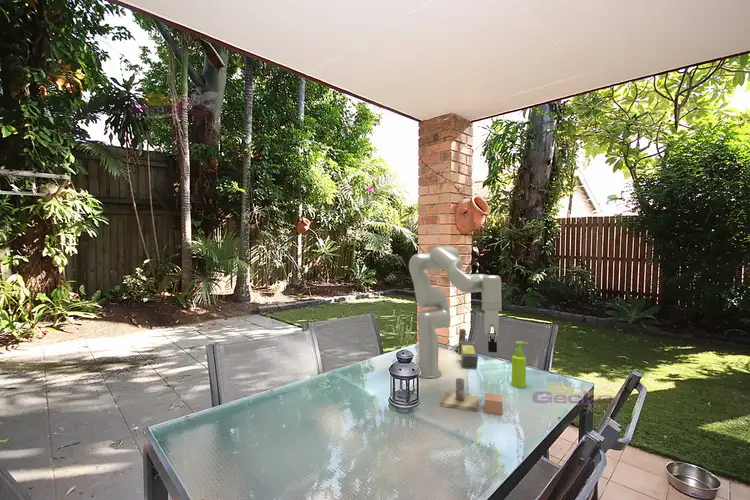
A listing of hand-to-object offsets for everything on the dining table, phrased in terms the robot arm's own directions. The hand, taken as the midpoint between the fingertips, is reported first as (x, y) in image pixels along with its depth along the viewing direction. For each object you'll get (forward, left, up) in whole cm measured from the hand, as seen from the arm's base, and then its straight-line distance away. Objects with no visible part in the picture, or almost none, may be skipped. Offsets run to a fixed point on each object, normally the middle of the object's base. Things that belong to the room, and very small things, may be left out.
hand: (492, 348), depth 142 cm
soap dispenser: (+12, +25, -23) cm, 36 cm away
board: (-12, -3, -22) cm, 26 cm away
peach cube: (+1, -5, -22) cm, 23 cm away
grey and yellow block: (-15, +55, -23) cm, 62 cm away
